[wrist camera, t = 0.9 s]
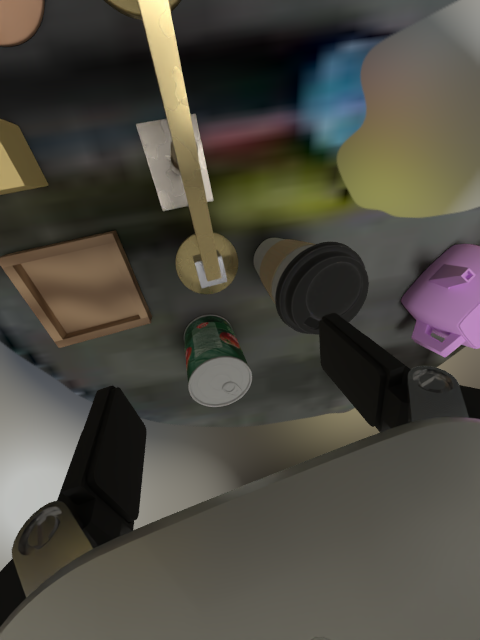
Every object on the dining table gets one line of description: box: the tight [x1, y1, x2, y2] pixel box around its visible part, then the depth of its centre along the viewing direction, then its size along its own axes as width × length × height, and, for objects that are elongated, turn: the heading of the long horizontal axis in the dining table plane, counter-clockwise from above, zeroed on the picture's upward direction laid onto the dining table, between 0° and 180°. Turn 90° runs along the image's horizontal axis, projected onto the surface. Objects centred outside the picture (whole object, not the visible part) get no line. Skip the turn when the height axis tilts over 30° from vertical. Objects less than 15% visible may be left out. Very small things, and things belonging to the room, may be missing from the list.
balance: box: [104, 0, 238, 294], centre depth 19 cm, size 23×6×18 cm, turn 10°
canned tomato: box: [184, 314, 252, 407], centre depth 34 cm, size 8×8×11 cm
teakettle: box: [401, 244, 480, 357], centre depth 41 cm, size 17×17×12 cm
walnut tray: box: [0, 230, 152, 348], centre depth 30 cm, size 12×12×2 cm
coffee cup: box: [253, 238, 369, 334], centre depth 29 cm, size 9×9×15 cm
